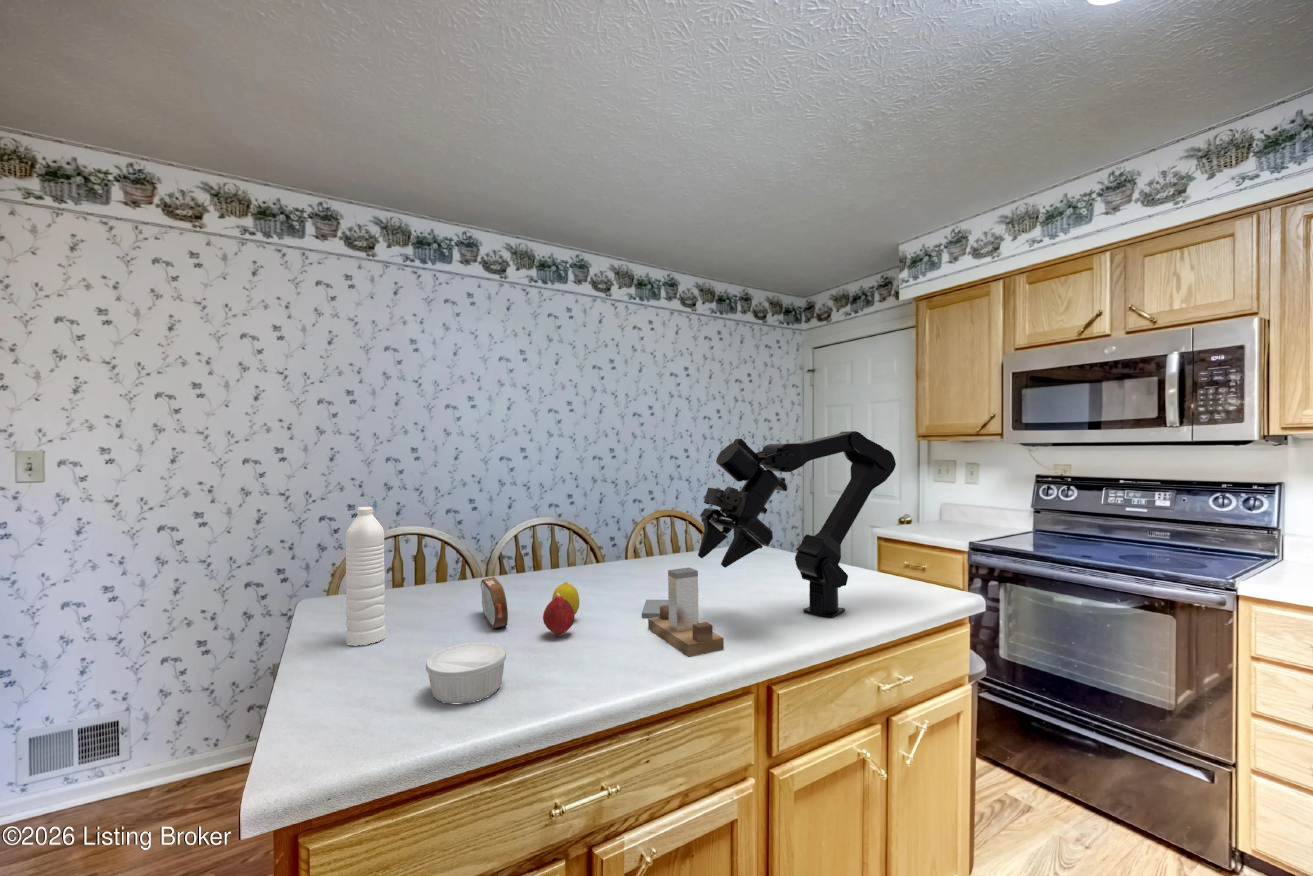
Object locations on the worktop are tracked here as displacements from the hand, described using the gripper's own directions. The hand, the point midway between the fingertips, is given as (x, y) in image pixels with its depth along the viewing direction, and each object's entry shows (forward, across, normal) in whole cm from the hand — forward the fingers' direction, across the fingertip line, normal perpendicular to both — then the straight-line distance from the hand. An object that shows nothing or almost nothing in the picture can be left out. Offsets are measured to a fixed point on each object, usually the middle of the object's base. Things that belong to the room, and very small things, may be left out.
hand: (710, 561), depth 107 cm
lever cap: (+13, +2, +2) cm, 13 cm away
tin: (+34, -24, -20) cm, 46 cm away
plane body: (+14, +2, +3) cm, 15 cm away
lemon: (+26, -18, -10) cm, 33 cm away
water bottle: (+49, -22, -38) cm, 66 cm away
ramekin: (+39, +8, -26) cm, 48 cm away
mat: (+12, -15, +6) cm, 20 cm away
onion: (+28, -10, -13) cm, 32 cm away
